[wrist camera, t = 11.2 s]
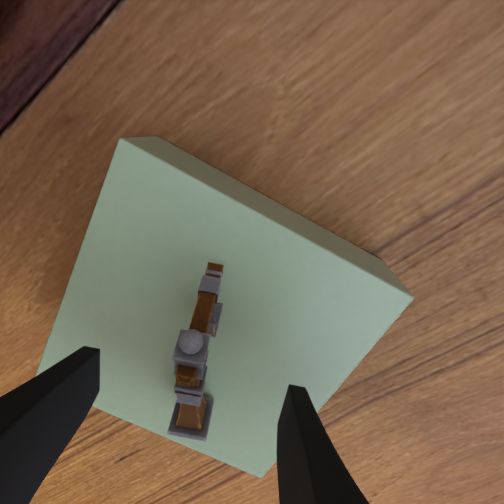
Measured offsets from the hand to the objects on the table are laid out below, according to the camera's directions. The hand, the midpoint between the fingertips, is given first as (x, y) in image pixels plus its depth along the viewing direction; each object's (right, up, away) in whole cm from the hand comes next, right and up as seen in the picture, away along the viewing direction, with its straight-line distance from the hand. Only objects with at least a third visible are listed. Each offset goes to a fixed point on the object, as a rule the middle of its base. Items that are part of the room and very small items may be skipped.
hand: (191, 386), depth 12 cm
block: (0, +2, +6) cm, 7 cm away
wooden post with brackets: (0, +1, +3) cm, 3 cm away
